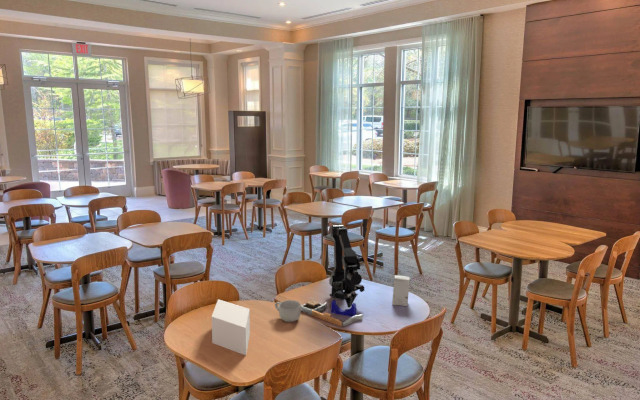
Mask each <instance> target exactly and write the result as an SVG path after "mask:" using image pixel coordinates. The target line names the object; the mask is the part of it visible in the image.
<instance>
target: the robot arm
mask: <svg viewBox="0 0 640 400" xmlns="http://www.w3.org/2000/svg"><path fill="white" fill-rule="evenodd" d="M329 234H330V237H331V239H332V241H333V261H334V263H333V265H334V267H333V269H332V270H331V275H330V276H329V277H330V278H329V280H328V281H329V282H328V283H329V285H330V287H331V293H329V296H332V297H333V298H334V299H338V300H339V301H345V303H346V305H347V306H346V307H347V309H350V308H351V305H352V304H353V303H354V301H355V299H356V298H357V297H358V295H359V294H358V293H356V292H357V291H359V292H360V293H363V292H364V291H365V285H363V284H361V283H362V281H363V277H362V275H361V274H360V273H359V270H361V263H360V259H359V256H358V255H357V253H356V251H355V250H353V248H352V244H351V241H350V237H349V234H348V227H347V226H344V225H343V224H331V226H330V227H329Z"/></svg>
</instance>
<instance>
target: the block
mask: <svg viewBox="0 0 640 400" xmlns="http://www.w3.org/2000/svg"><path fill="white" fill-rule="evenodd" d="M250 312H251V311H250V308H248V307H245V306H241V305H237V304H235V303H232V302H228V301H225V300H222V299H217V301H216V304H215V306H214V310H213V312H212V314H211V342H212V344H213V345H217V346H220V347H223V348H225V349H227V350H231V351H233V352H235V353H239V354H241V355H243V356H247V352H248V347H249V341H250V335H251V322H250V321H251V320H250V317H251V315H250V314H251V313H250Z"/></svg>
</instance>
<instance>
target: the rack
mask: <svg viewBox="0 0 640 400" xmlns="http://www.w3.org/2000/svg"><path fill="white" fill-rule="evenodd" d="M327 307H328V301H325V302H324V303H323V304H322V303H321V302H317V301H315V300H309V301H306V302H305V303H304V304H301V313H305V314H307V315H310V316H313V317H315V318H318V319H320V320H323V321H325V322H328V323H331V324H333V325H337V326H339V327H341V328H344V327H346V326H349V325H350V324H352V323H354V322H358V321H363V314H356V315H355V316H349V318H346V319H345V320H340V319H338V318H335V317H333V316H332V313H328V312H323V311H325V310H326V309H327ZM321 312H323V313H321Z"/></svg>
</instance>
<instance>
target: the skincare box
mask: <svg viewBox="0 0 640 400" xmlns="http://www.w3.org/2000/svg"><path fill="white" fill-rule="evenodd" d="M393 278H394V279H393V290H392V305H393V306H403V307H408V303H409V292H410V280H411V279H410V278H411V277H410V276H408V275H407V276H405V275H398V274H397V275H396V274H395V275H394V277H393Z"/></svg>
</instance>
